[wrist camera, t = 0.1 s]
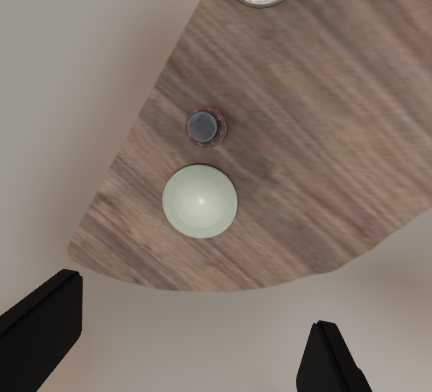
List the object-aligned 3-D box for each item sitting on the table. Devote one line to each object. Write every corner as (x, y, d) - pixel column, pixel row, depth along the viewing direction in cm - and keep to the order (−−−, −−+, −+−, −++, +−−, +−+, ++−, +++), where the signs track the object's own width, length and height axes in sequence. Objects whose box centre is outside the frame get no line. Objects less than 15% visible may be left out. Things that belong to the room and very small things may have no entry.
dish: (151, 184, 48) (148, 185, 46) (216, 151, 45) (215, 151, 43) (186, 245, 50) (184, 249, 49) (249, 218, 47) (250, 220, 46)
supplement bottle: (189, 135, 45) (172, 136, 34) (204, 103, 43) (191, 94, 32) (218, 151, 45) (211, 157, 34) (234, 120, 43) (232, 116, 32)
